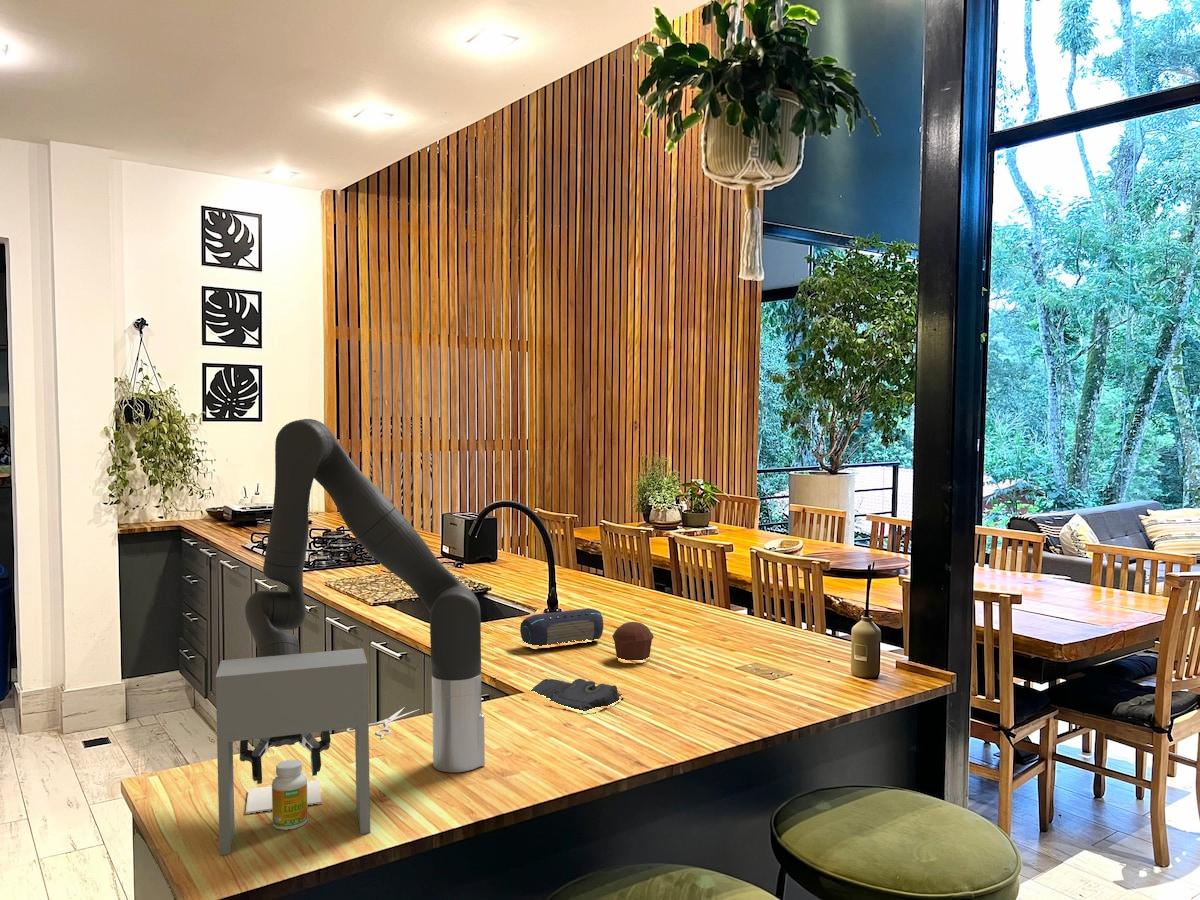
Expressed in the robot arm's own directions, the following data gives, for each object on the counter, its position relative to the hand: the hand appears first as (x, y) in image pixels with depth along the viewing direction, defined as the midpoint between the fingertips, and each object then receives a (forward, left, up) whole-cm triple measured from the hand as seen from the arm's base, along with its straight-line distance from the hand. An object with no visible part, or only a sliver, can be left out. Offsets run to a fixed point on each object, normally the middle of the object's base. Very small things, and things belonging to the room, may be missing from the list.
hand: (287, 777), depth 147 cm
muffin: (-88, -74, -7) cm, 115 cm away
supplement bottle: (0, +1, -7) cm, 7 cm away
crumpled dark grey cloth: (-63, -46, -8) cm, 78 cm away
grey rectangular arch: (-1, +4, -7) cm, 8 cm away
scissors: (-20, -45, -8) cm, 50 cm away
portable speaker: (-75, -96, -7) cm, 122 cm away
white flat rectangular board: (+1, -10, -7) cm, 12 cm away
